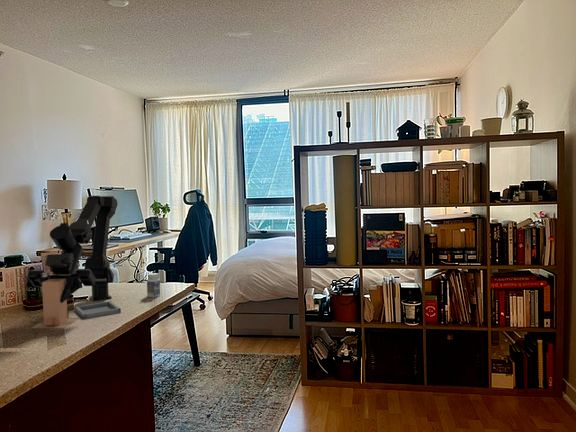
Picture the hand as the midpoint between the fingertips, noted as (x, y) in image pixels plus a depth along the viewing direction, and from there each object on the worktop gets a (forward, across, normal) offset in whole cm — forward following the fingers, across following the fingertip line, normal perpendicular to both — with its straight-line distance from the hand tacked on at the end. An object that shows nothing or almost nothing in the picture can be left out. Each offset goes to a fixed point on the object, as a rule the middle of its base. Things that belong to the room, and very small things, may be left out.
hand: (52, 302), depth 127 cm
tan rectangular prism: (+4, 0, +6) cm, 7 cm away
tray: (-4, +8, +14) cm, 17 cm away
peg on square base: (+4, 0, +6) cm, 7 cm away
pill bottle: (-20, +19, +31) cm, 42 cm away
